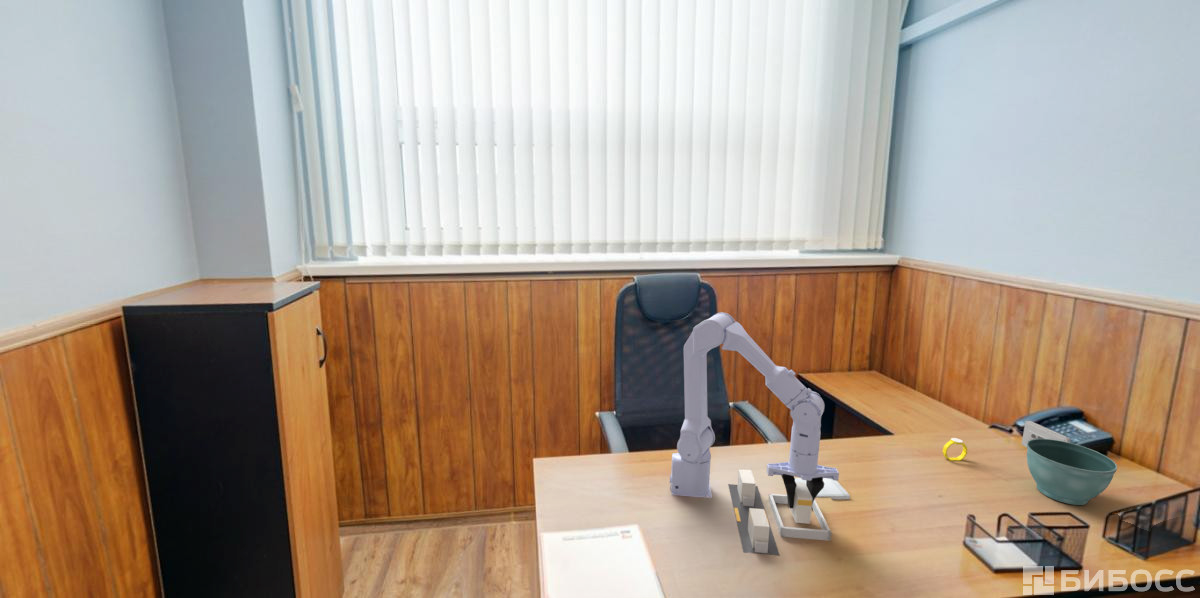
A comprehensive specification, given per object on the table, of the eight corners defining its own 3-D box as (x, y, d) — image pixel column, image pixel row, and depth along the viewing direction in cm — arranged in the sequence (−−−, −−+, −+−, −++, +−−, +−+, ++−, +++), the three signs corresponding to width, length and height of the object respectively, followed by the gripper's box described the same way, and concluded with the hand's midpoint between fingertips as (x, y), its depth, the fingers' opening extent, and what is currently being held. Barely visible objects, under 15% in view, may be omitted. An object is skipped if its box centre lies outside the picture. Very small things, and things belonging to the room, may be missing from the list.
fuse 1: (740, 502, 120) (742, 482, 120) (737, 488, 126) (738, 469, 125) (754, 503, 120) (755, 483, 119) (749, 489, 126) (751, 470, 125)
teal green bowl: (1090, 486, 130) (1099, 446, 128) (1121, 522, 116) (1131, 477, 114) (1011, 471, 137) (1018, 433, 135) (1031, 503, 122) (1039, 461, 120)
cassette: (1019, 444, 152) (1024, 420, 151) (1025, 444, 152) (1029, 419, 151) (1061, 465, 141) (1066, 438, 139) (1067, 464, 141) (1072, 438, 139)
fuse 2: (752, 547, 105) (754, 525, 104) (747, 529, 111) (749, 508, 110) (767, 549, 105) (769, 526, 104) (762, 530, 110) (763, 509, 109)
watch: (959, 458, 144) (964, 438, 143) (967, 463, 142) (971, 443, 140) (938, 456, 144) (943, 436, 143) (945, 461, 141) (950, 441, 140)
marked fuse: (795, 522, 111) (797, 497, 109) (788, 506, 116) (790, 481, 115) (810, 523, 110) (812, 498, 109) (802, 507, 116) (804, 482, 115)
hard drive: (798, 496, 123) (850, 494, 123) (785, 477, 131) (833, 476, 131) (798, 502, 123) (849, 501, 124) (784, 483, 131) (833, 482, 132)
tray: (780, 538, 109) (781, 528, 108) (768, 503, 121) (769, 493, 121) (830, 543, 108) (831, 532, 107) (812, 506, 120) (813, 496, 120)
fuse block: (743, 554, 104) (744, 543, 103) (728, 486, 128) (728, 476, 128) (779, 557, 103) (780, 546, 102) (757, 488, 127) (757, 478, 127)
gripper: (773, 455, 108) (768, 514, 111) (846, 460, 106) (839, 520, 109) (766, 440, 115) (762, 495, 117) (835, 444, 113) (829, 500, 116)
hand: (798, 506), depth 114 cm, fingers closed on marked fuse, 3 cm apart
